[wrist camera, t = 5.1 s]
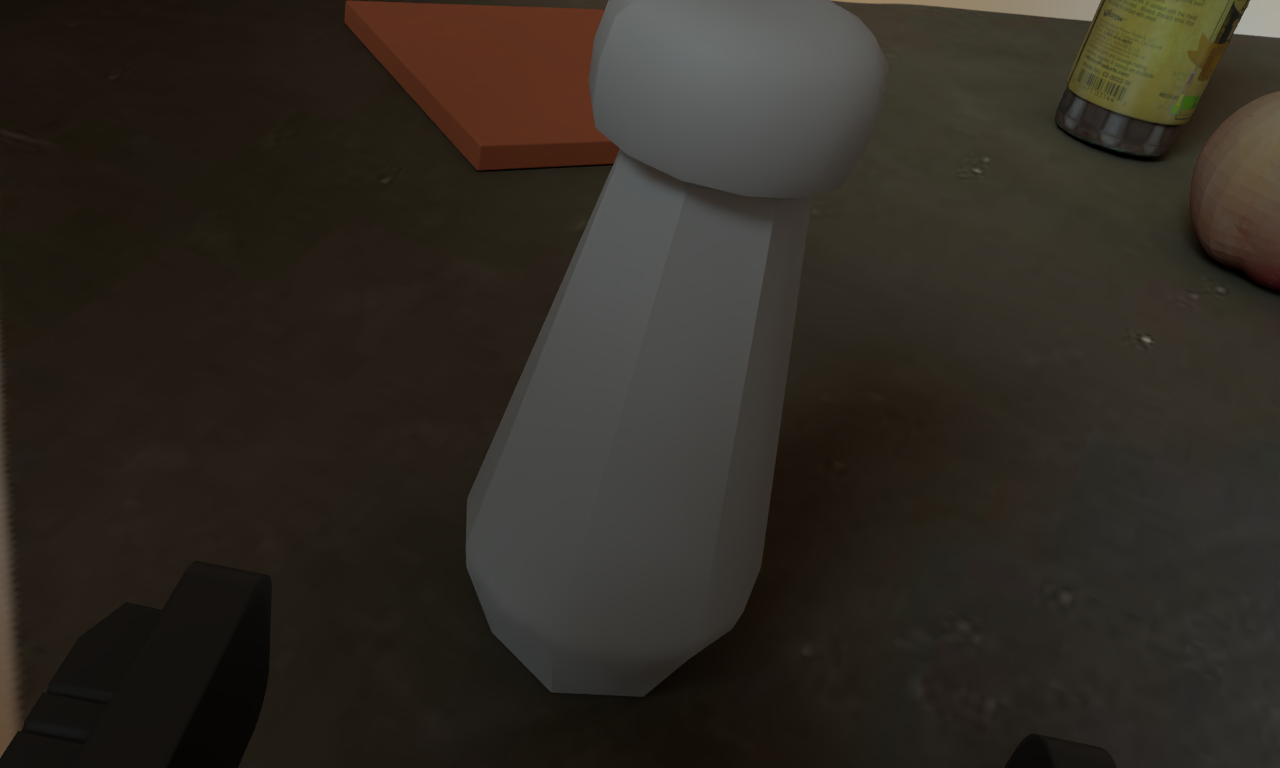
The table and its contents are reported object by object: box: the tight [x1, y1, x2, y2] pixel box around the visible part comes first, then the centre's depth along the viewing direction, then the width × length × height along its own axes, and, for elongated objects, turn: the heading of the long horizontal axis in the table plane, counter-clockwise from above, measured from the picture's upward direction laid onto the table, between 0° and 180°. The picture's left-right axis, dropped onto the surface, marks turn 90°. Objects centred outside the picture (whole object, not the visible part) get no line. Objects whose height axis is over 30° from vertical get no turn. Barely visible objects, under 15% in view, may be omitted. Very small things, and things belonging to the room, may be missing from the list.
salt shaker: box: [466, 0, 889, 697], centre depth 19 cm, size 6×6×13 cm
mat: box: [344, 1, 620, 171], centre depth 47 cm, size 14×14×1 cm
